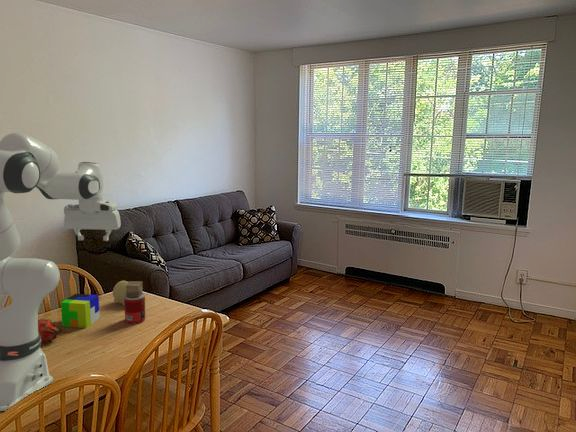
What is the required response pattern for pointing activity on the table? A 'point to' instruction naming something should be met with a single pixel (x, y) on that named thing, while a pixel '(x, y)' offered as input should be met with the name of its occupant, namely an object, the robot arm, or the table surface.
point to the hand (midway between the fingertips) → (93, 240)
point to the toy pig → (120, 291)
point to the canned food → (134, 309)
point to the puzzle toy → (80, 310)
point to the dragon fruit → (47, 330)
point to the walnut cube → (134, 289)
